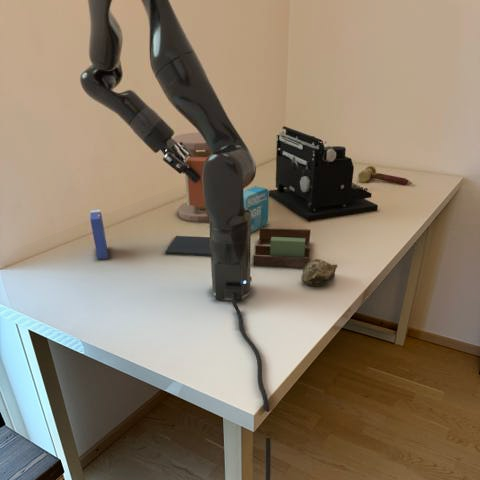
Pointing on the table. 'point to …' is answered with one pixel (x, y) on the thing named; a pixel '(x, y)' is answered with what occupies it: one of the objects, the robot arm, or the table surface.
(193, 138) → the hourglass
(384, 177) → the gavel
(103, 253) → the walkman
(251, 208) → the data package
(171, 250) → the slate mat
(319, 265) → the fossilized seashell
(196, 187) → the book
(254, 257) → the book rack
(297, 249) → the paperback
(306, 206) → the typewriter
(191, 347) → the table surface
